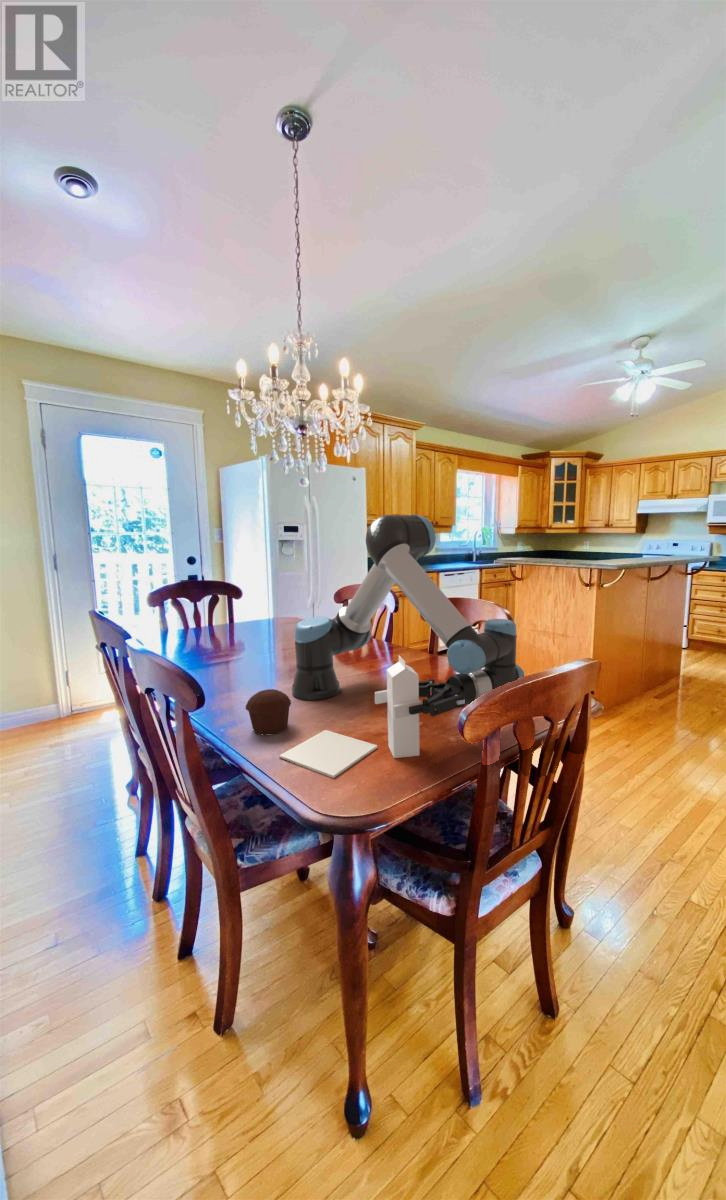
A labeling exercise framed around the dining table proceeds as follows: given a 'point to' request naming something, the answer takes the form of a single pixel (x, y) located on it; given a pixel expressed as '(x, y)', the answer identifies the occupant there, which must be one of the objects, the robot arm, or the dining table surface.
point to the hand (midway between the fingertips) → (384, 704)
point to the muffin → (269, 711)
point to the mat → (328, 753)
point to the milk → (405, 728)
